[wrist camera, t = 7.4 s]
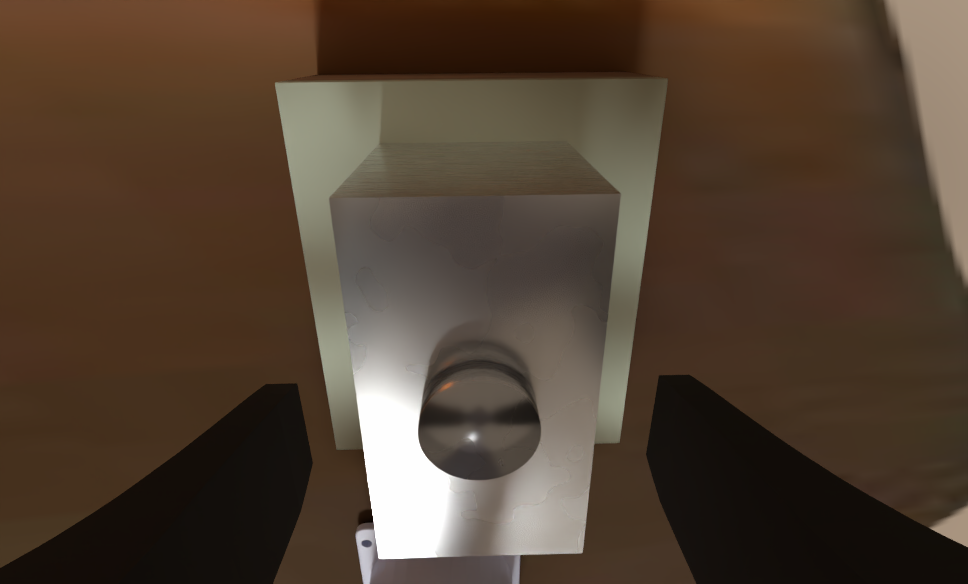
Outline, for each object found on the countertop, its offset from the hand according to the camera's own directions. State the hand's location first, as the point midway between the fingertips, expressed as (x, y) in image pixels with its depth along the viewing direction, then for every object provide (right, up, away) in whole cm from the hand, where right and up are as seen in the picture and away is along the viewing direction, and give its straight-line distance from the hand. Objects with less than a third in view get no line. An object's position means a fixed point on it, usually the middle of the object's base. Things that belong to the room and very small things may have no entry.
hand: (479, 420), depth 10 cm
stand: (0, +4, +9) cm, 10 cm away
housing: (0, +3, +5) cm, 6 cm away
